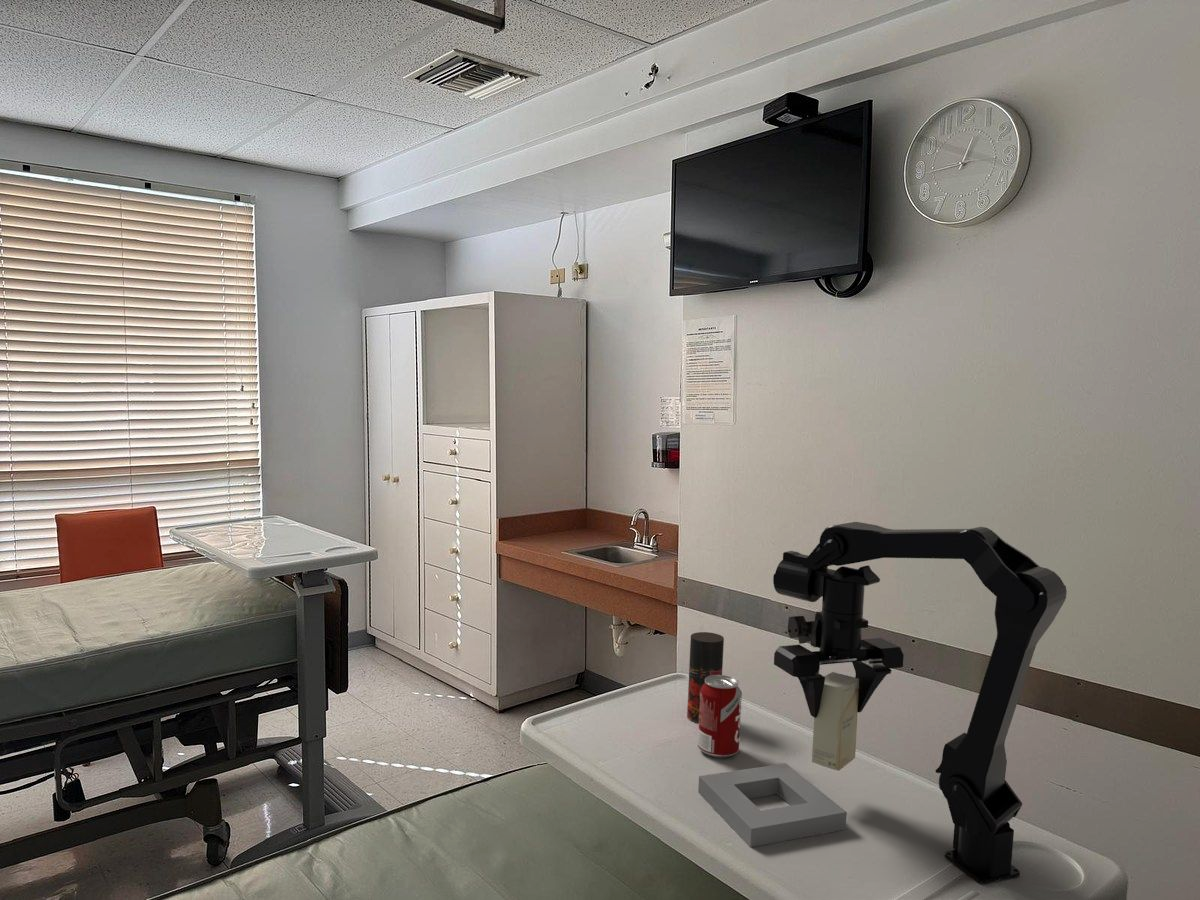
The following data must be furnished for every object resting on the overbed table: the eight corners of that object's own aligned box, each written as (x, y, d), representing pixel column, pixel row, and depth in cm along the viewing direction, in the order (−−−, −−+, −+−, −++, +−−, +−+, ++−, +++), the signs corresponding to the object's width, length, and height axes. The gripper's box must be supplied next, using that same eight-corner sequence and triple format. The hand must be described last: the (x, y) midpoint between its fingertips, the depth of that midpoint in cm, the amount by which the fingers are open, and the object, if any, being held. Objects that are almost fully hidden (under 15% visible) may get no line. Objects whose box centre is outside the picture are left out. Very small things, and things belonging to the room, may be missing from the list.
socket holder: (845, 829, 113) (846, 812, 113) (750, 847, 108) (751, 828, 107) (785, 778, 127) (786, 763, 127) (698, 792, 122) (699, 776, 121)
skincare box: (838, 772, 117) (843, 689, 116) (809, 762, 119) (814, 681, 118) (856, 757, 121) (861, 678, 120) (827, 748, 124) (832, 670, 123)
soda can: (707, 762, 131) (710, 689, 131) (691, 744, 138) (694, 674, 137) (745, 758, 133) (749, 686, 132) (728, 740, 140) (731, 672, 139)
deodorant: (683, 711, 152) (687, 632, 151) (715, 710, 152) (719, 632, 151) (690, 724, 146) (694, 642, 145) (723, 724, 147) (727, 642, 145)
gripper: (861, 592, 129) (855, 688, 130) (757, 598, 123) (751, 699, 124) (909, 611, 119) (902, 715, 120) (798, 619, 113) (792, 729, 114)
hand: (835, 713), depth 120 cm, fingers closed on skincare box, 7 cm apart
